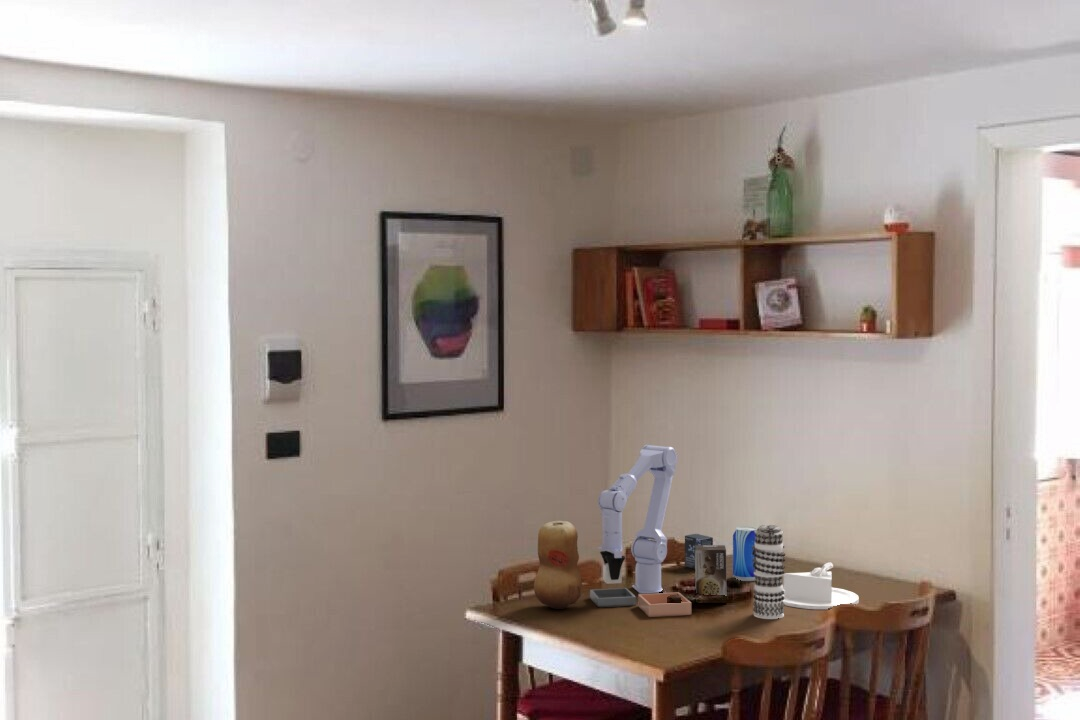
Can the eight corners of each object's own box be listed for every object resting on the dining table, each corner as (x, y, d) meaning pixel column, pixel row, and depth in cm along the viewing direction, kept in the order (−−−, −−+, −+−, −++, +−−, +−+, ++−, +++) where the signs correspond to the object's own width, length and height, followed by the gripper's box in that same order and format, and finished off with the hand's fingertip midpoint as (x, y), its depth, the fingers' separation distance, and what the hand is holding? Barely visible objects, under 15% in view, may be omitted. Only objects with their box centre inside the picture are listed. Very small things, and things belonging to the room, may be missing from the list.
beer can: (740, 574, 398) (740, 524, 397) (764, 577, 393) (764, 527, 392) (728, 579, 391) (728, 529, 390) (752, 582, 386) (752, 531, 386)
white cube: (603, 580, 366) (602, 563, 366) (618, 579, 367) (617, 562, 366) (606, 583, 361) (606, 566, 361) (621, 582, 362) (621, 565, 362)
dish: (857, 591, 375) (857, 554, 374) (859, 612, 351) (859, 573, 350) (774, 588, 381) (774, 551, 380) (770, 608, 356) (770, 569, 356)
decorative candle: (749, 611, 352) (749, 523, 351) (782, 611, 352) (782, 523, 351) (754, 619, 343) (754, 529, 342) (788, 619, 343) (788, 529, 341)
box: (684, 567, 410) (684, 535, 409) (697, 564, 413) (697, 533, 412) (700, 571, 403) (700, 539, 403) (713, 569, 407) (713, 536, 406)
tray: (589, 598, 369) (589, 589, 369) (626, 596, 371) (626, 587, 371) (598, 607, 358) (598, 598, 358) (636, 605, 360) (636, 596, 360)
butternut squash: (533, 614, 351) (532, 526, 350) (535, 602, 364) (534, 517, 363) (582, 614, 350) (581, 526, 349) (582, 602, 364) (582, 517, 362)
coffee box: (725, 599, 366) (725, 544, 365) (727, 604, 360) (727, 549, 359) (694, 598, 367) (694, 544, 366) (695, 604, 361) (695, 548, 360)
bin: (638, 606, 359) (638, 594, 358) (679, 604, 361) (679, 592, 360) (649, 617, 347) (649, 604, 346) (691, 614, 349) (691, 602, 348)
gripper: (593, 527, 370) (593, 572, 370) (604, 536, 355) (604, 583, 356) (616, 526, 371) (617, 571, 372) (628, 535, 357) (628, 582, 357)
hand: (612, 577), depth 364 cm, fingers closed on white cube, 4 cm apart
